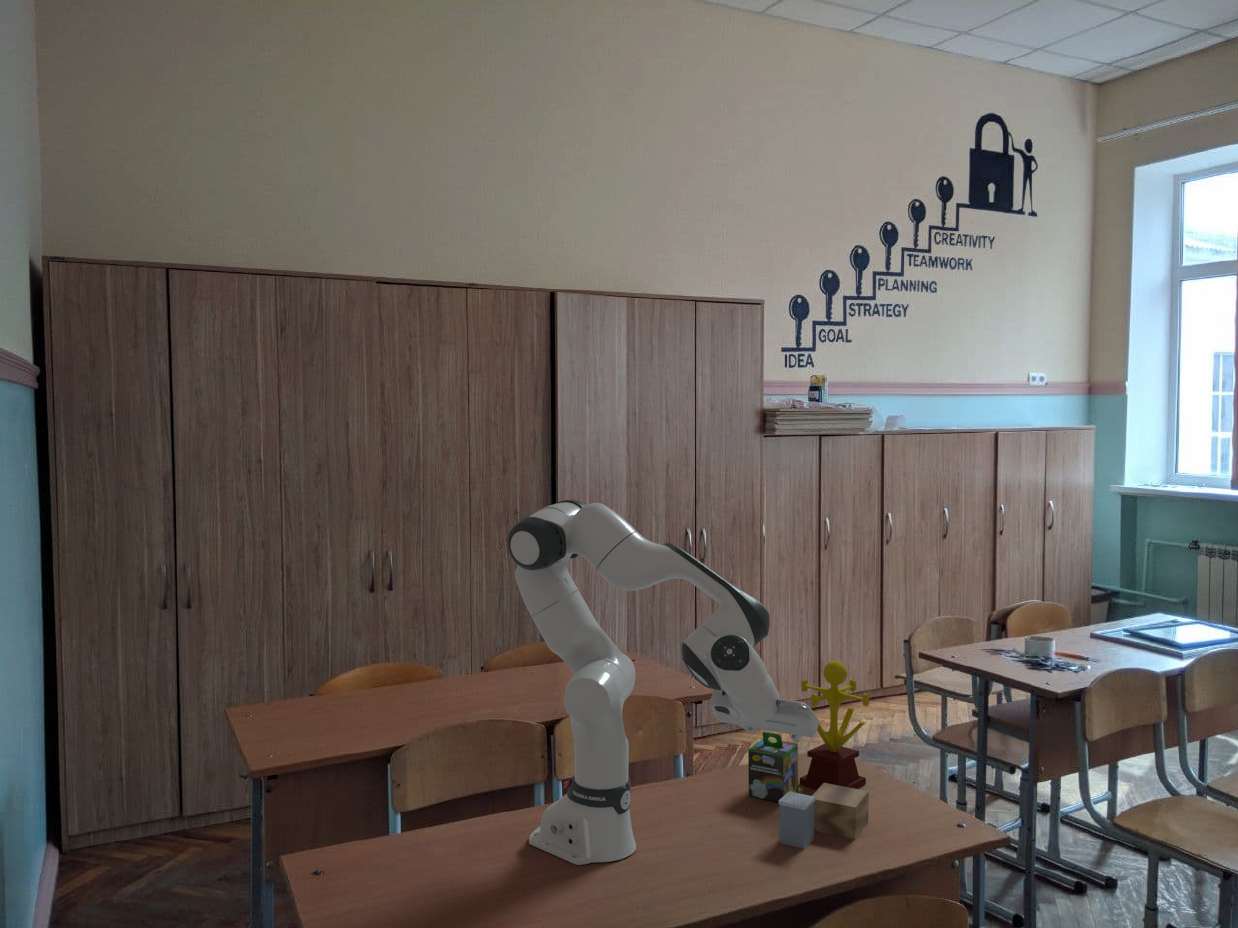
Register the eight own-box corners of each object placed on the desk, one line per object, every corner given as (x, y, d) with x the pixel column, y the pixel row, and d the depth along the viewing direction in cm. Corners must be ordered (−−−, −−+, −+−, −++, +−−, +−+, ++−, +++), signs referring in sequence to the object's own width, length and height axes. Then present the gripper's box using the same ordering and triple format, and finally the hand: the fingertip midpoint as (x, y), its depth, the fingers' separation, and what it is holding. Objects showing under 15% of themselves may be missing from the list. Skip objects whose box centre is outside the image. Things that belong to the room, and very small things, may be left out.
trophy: (793, 772, 244) (794, 653, 242) (855, 772, 244) (857, 653, 242) (805, 795, 229) (806, 668, 228) (871, 795, 229) (873, 668, 228)
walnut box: (809, 829, 211) (809, 798, 210) (823, 813, 219) (824, 782, 219) (855, 839, 206) (855, 807, 205) (868, 822, 215) (868, 791, 214)
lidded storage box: (778, 842, 204) (778, 800, 204) (788, 832, 209) (789, 791, 209) (804, 849, 201) (805, 806, 201) (814, 838, 206) (815, 796, 206)
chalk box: (799, 791, 232) (799, 729, 231) (784, 804, 224) (784, 740, 223) (762, 783, 237) (763, 723, 236) (746, 796, 229) (747, 733, 228)
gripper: (812, 690, 181) (830, 728, 189) (711, 676, 191) (733, 712, 200) (803, 721, 177) (822, 758, 186) (701, 704, 188) (723, 740, 196)
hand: (775, 734), depth 193 cm, fingers open, 8 cm apart
